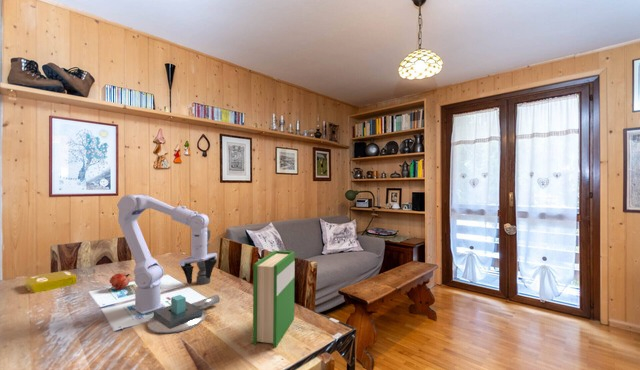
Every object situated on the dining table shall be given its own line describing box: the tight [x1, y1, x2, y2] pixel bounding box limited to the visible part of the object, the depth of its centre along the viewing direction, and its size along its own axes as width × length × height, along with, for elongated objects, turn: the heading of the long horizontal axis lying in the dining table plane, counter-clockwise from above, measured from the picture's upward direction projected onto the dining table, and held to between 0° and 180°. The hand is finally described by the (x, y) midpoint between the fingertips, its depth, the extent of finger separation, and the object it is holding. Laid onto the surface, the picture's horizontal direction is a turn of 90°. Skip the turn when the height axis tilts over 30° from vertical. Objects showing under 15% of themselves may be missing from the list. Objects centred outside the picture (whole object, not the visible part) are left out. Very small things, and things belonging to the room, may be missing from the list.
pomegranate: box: [108, 273, 131, 291], centre depth 126 cm, size 7×7×10 cm
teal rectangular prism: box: [170, 294, 187, 315], centre depth 97 cm, size 4×3×7 cm
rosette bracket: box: [147, 294, 221, 335], centre depth 100 cm, size 18×24×4 cm
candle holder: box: [196, 229, 211, 286], centre depth 135 cm, size 6×6×25 cm
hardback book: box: [252, 250, 296, 348], centre depth 91 cm, size 18×7×24 cm, turn 168°
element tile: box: [24, 270, 78, 294], centre depth 130 cm, size 15×15×5 cm
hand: (199, 280), depth 108 cm, fingers open, 7 cm apart
